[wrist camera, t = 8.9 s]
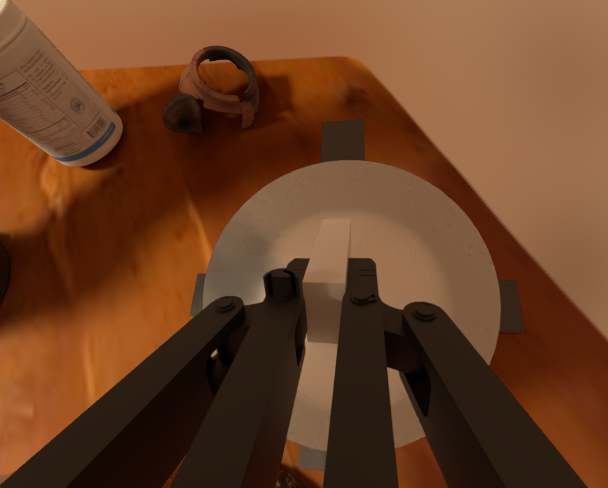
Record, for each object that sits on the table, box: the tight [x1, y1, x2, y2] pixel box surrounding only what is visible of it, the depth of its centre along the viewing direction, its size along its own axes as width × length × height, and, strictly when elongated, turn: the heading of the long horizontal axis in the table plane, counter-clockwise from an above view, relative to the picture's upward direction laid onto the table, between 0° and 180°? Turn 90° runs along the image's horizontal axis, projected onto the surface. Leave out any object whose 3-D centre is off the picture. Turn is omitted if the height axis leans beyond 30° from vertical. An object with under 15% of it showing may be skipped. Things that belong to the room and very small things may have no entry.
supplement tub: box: [0, 0, 123, 167], centre depth 33 cm, size 10×10×15 cm
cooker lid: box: [203, 119, 501, 452], centre depth 19 cm, size 20×17×1 cm
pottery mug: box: [163, 46, 259, 134], centre depth 36 cm, size 12×10×8 cm
